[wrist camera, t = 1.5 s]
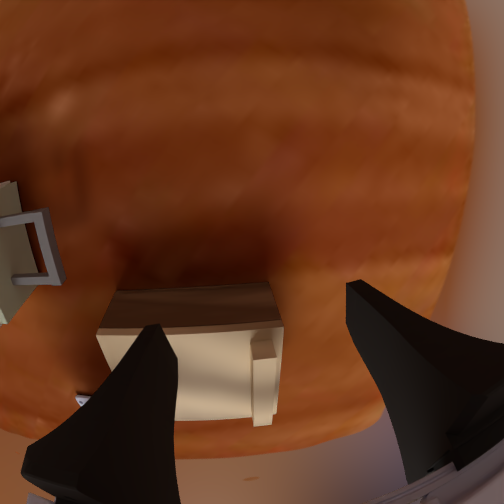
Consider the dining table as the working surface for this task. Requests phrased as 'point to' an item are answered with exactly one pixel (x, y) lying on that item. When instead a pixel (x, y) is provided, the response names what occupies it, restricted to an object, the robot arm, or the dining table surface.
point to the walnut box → (191, 306)
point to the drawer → (23, 253)
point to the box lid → (217, 368)
